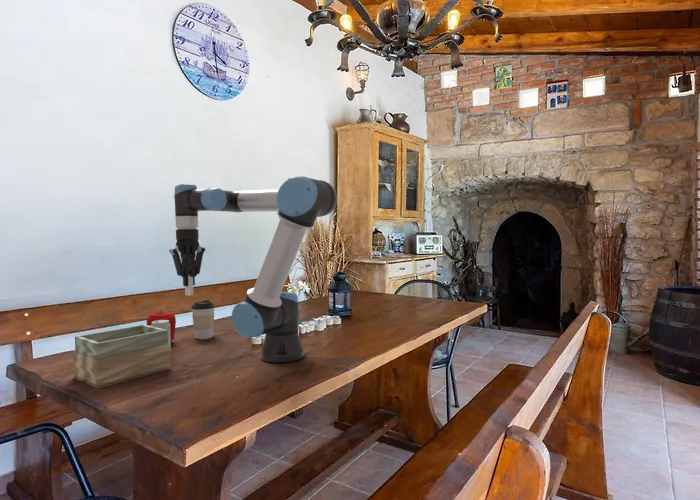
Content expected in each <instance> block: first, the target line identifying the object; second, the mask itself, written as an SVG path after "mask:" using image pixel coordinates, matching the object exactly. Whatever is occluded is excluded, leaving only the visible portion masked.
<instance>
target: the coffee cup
mask: <svg viewBox="0 0 700 500" xmlns="http://www.w3.org/2000/svg"><path fill="white" fill-rule="evenodd" d="M191 312H192V314H191V315H192V325H193V332H194V338H195V339H197V340H209V339H211V338H213V337H214V327H215V326H214V325H215V324H214V323H215V304H214V303H213V302H212V301H210V300H209V299H208V300H207V299H205V300H202V301H196V302H194V303H193V304H192V305H191Z"/></svg>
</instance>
